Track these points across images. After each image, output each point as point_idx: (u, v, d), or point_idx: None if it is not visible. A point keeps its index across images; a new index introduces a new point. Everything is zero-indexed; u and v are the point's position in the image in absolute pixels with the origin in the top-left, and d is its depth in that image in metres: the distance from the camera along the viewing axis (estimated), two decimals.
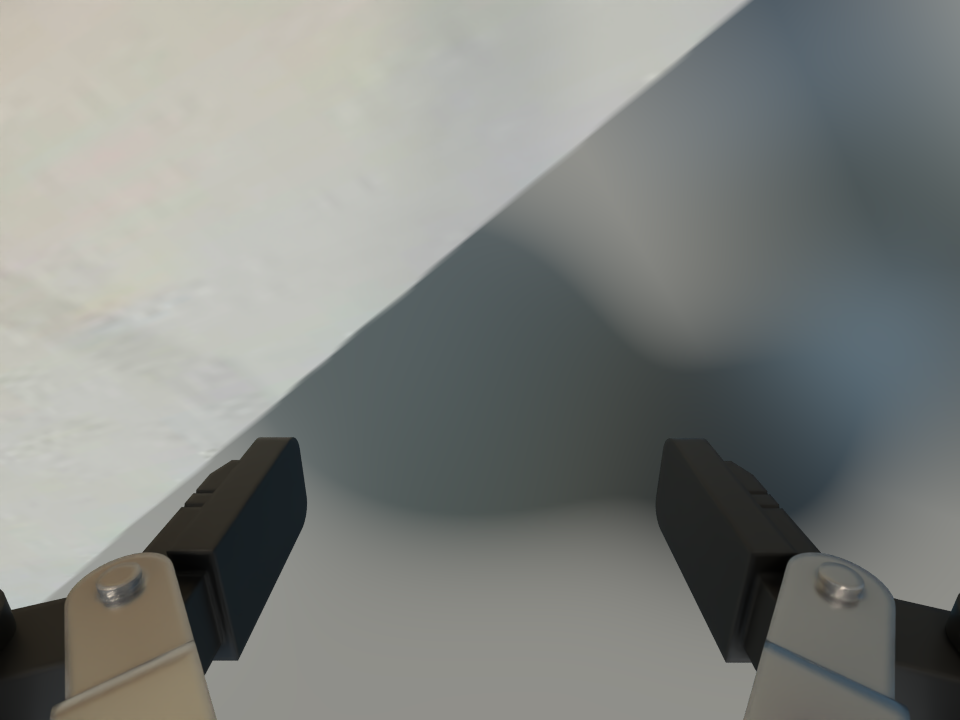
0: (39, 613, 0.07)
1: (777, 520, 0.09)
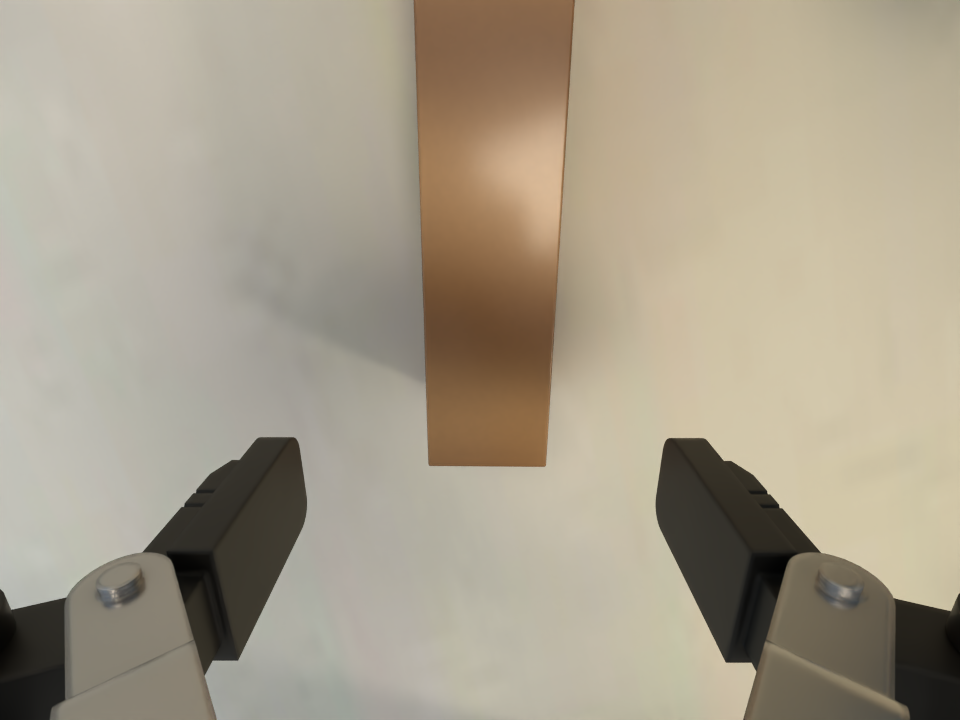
0: (38, 613, 0.07)
1: (777, 520, 0.09)
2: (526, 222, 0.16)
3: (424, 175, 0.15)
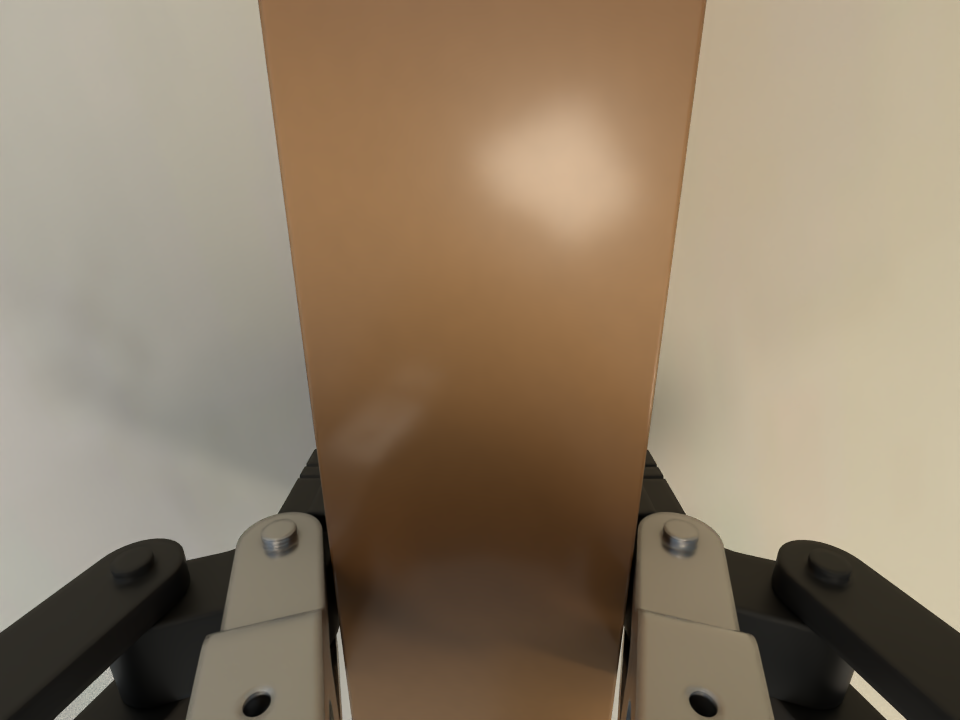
0: (203, 565, 0.08)
1: (657, 489, 0.10)
2: (574, 319, 0.06)
3: (296, 199, 0.06)
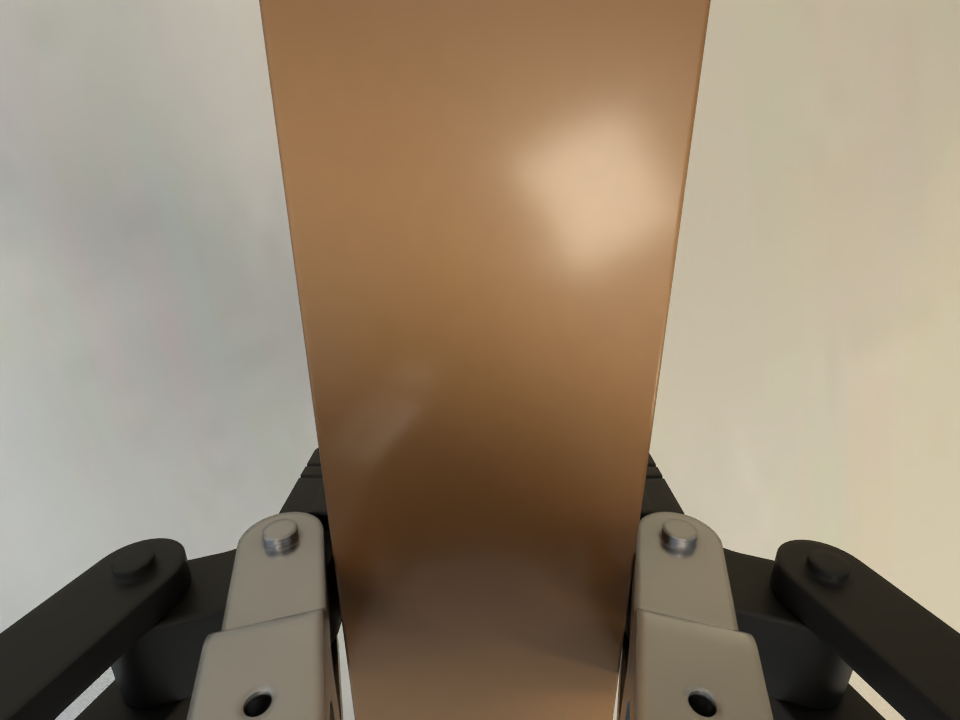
0: (204, 565, 0.08)
1: (656, 488, 0.10)
2: (578, 317, 0.06)
3: (298, 198, 0.06)
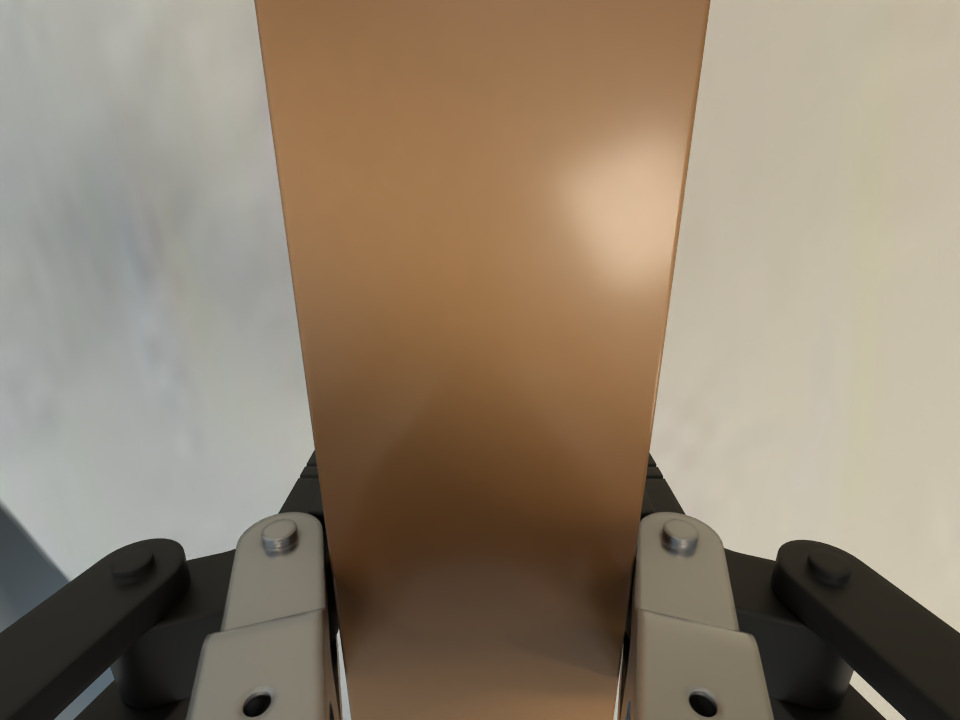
0: (203, 566, 0.08)
1: (656, 488, 0.10)
2: (576, 314, 0.06)
3: (293, 192, 0.05)
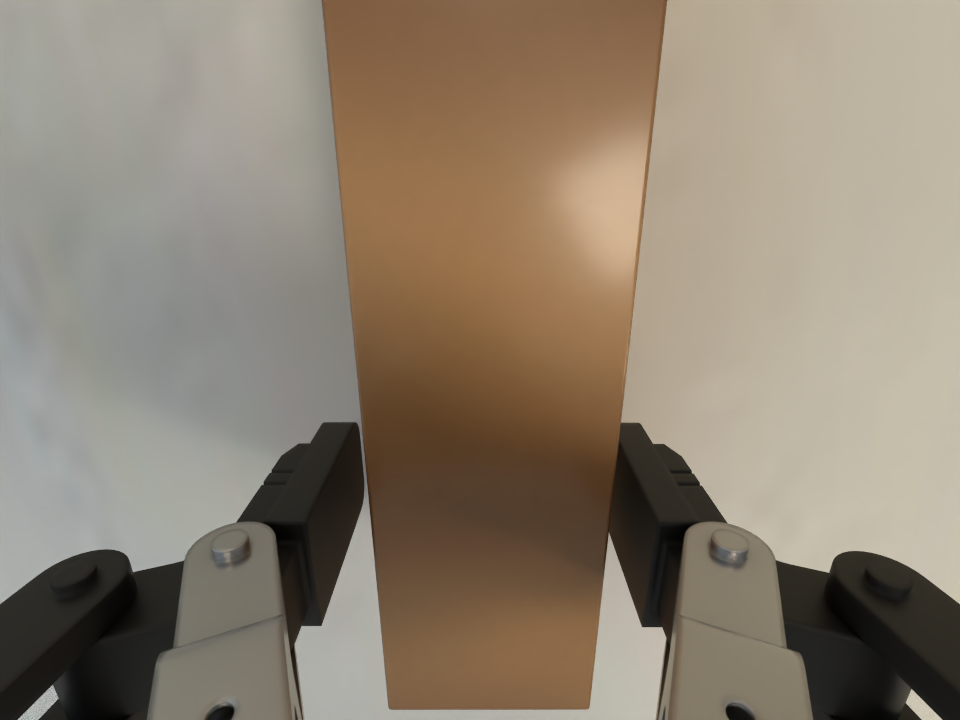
0: (153, 576, 0.08)
1: (694, 496, 0.09)
2: (563, 318, 0.08)
3: (353, 229, 0.07)
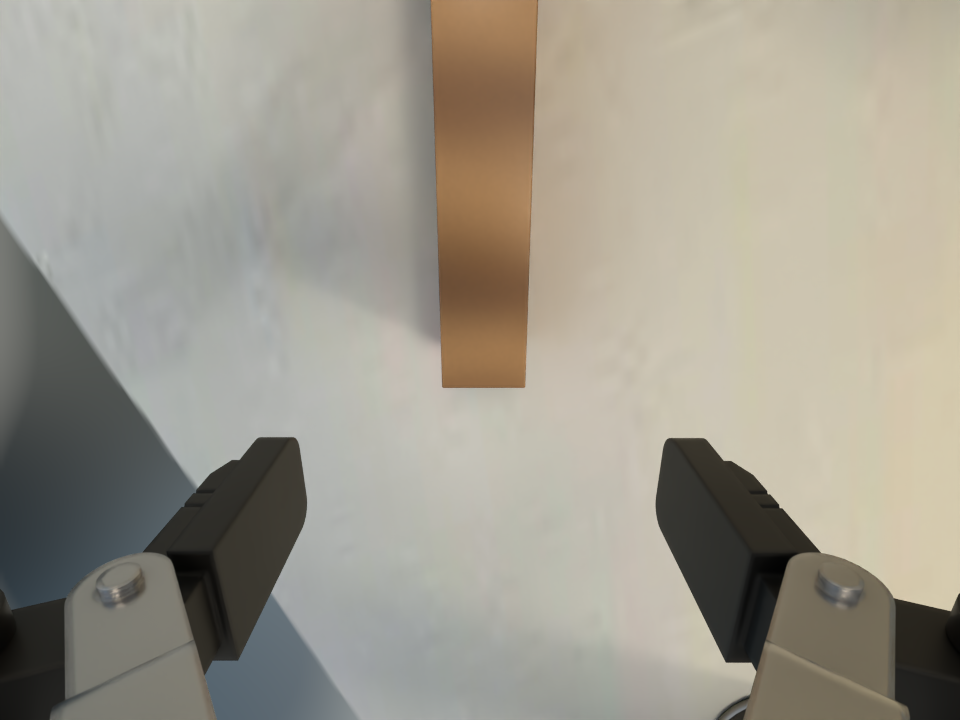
0: (38, 613, 0.07)
1: (777, 520, 0.09)
2: (507, 214, 0.24)
3: (439, 184, 0.23)
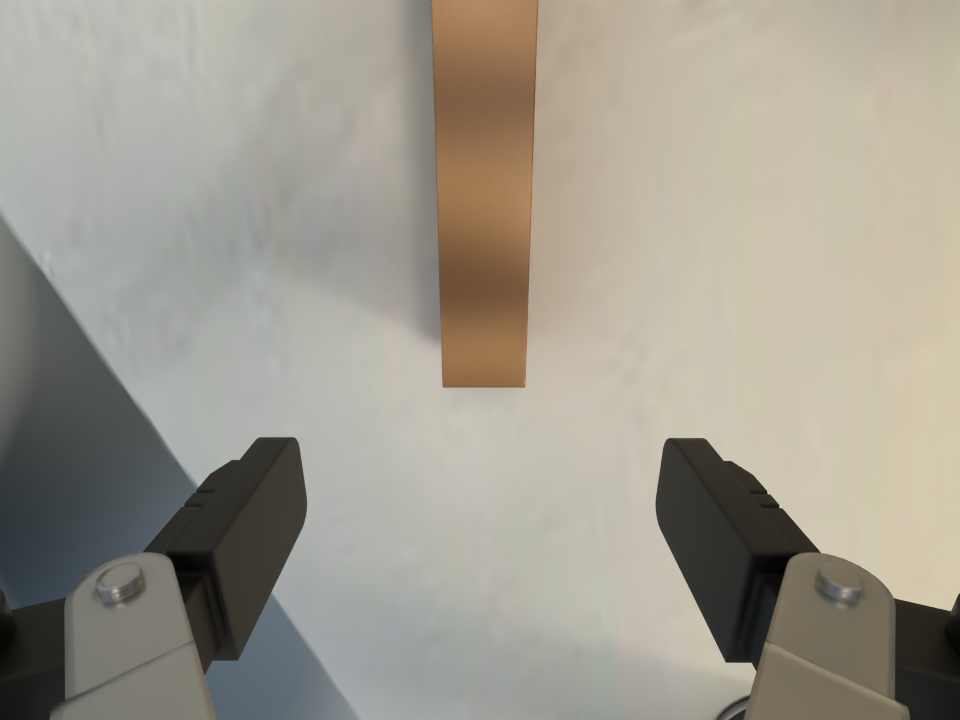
0: (39, 613, 0.07)
1: (777, 520, 0.09)
2: (508, 215, 0.24)
3: (440, 184, 0.23)
